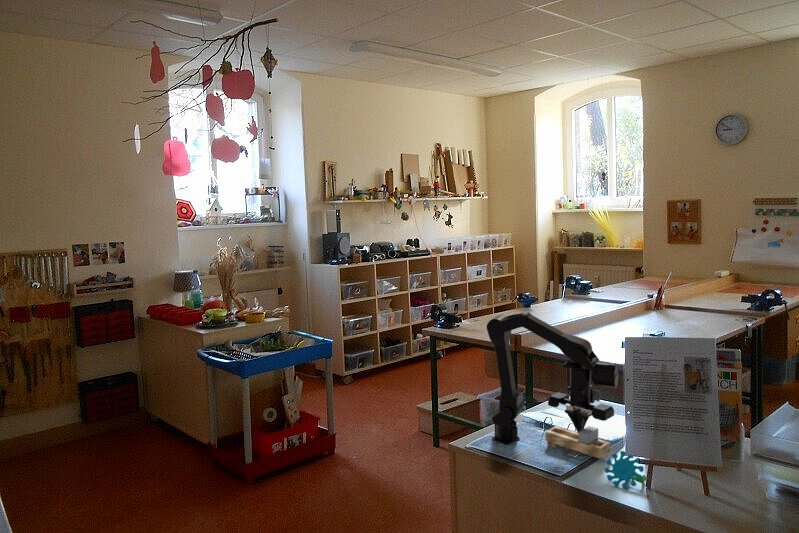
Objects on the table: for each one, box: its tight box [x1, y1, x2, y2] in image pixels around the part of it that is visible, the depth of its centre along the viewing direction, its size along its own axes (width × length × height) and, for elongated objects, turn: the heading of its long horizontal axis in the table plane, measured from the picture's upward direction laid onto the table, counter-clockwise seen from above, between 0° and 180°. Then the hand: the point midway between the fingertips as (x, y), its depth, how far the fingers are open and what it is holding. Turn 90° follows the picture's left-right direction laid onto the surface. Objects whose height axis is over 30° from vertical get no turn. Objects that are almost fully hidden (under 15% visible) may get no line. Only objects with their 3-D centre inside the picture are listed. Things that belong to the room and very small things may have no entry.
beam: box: [544, 425, 611, 459], centre depth 180 cm, size 18×6×5 cm, turn 43°
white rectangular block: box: [579, 425, 599, 444], centre depth 176 cm, size 3×6×4 cm, turn 133°
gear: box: [604, 450, 648, 489], centre depth 162 cm, size 11×6×10 cm
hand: (580, 433), depth 178 cm, fingers closed
